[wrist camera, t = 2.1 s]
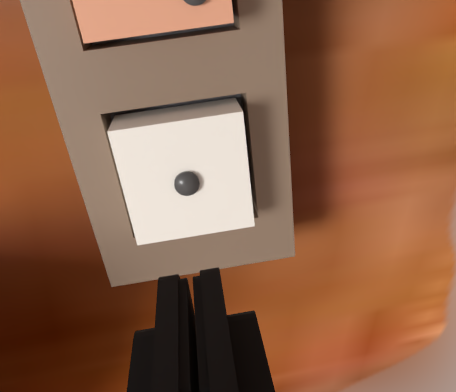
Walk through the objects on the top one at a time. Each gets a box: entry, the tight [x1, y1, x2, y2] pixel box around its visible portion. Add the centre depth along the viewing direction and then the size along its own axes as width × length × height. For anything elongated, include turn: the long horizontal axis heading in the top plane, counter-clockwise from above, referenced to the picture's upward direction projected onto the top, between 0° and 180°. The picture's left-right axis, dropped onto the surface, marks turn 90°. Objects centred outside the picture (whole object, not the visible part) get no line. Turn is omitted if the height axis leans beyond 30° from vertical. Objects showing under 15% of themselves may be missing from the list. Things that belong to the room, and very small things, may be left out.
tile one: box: [107, 98, 255, 245], centre depth 19 cm, size 6×6×3 cm
